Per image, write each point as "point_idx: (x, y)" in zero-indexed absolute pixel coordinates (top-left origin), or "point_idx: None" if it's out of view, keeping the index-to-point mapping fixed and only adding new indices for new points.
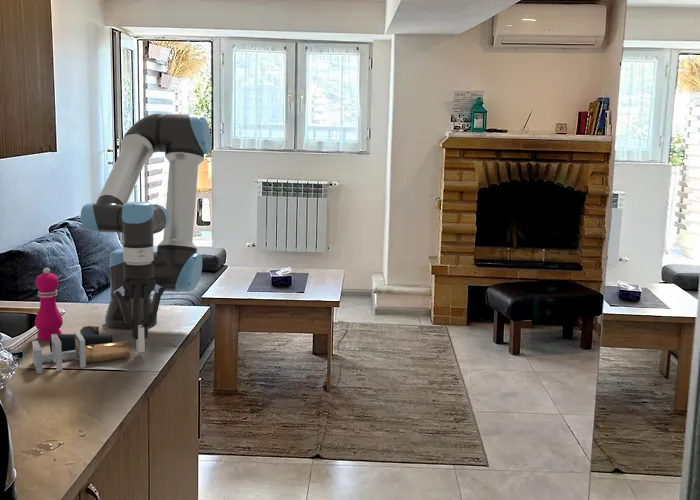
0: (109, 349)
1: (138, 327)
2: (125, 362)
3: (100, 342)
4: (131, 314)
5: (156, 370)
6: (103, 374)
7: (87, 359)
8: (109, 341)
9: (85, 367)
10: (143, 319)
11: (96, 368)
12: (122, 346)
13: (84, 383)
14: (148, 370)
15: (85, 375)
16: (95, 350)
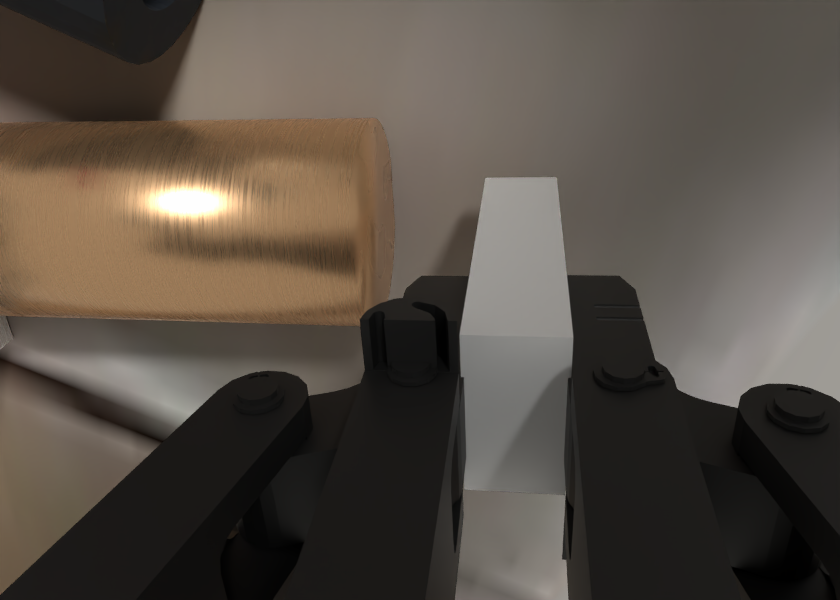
0: (148, 319)
1: (475, 455)
2: (340, 342)
3: (14, 6)
4: (315, 533)
5: (537, 593)
6: None
7: None
8: (132, 15)
9: (9, 339)
10: (569, 594)
11: (100, 383)
12: (286, 323)
13: None
14: (481, 571)
15: (38, 482)
16: (2, 315)
